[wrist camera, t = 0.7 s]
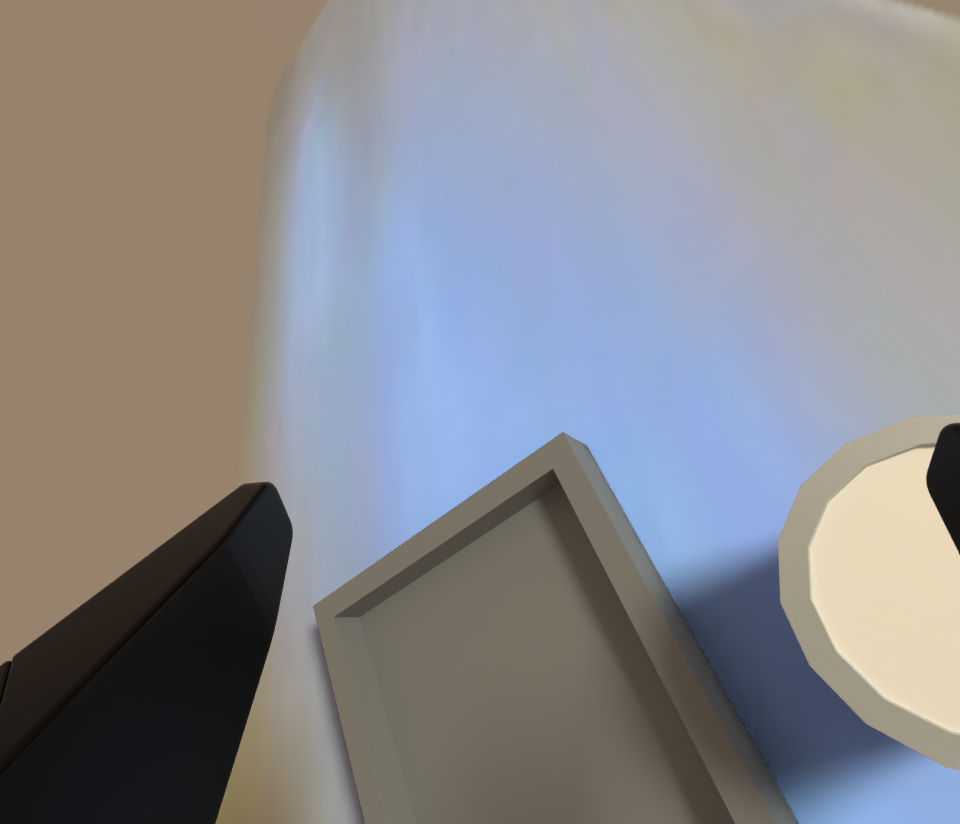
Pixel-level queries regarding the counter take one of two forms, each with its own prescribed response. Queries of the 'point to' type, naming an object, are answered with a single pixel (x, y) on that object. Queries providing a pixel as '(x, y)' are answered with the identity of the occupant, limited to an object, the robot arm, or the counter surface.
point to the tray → (534, 670)
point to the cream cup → (879, 587)
